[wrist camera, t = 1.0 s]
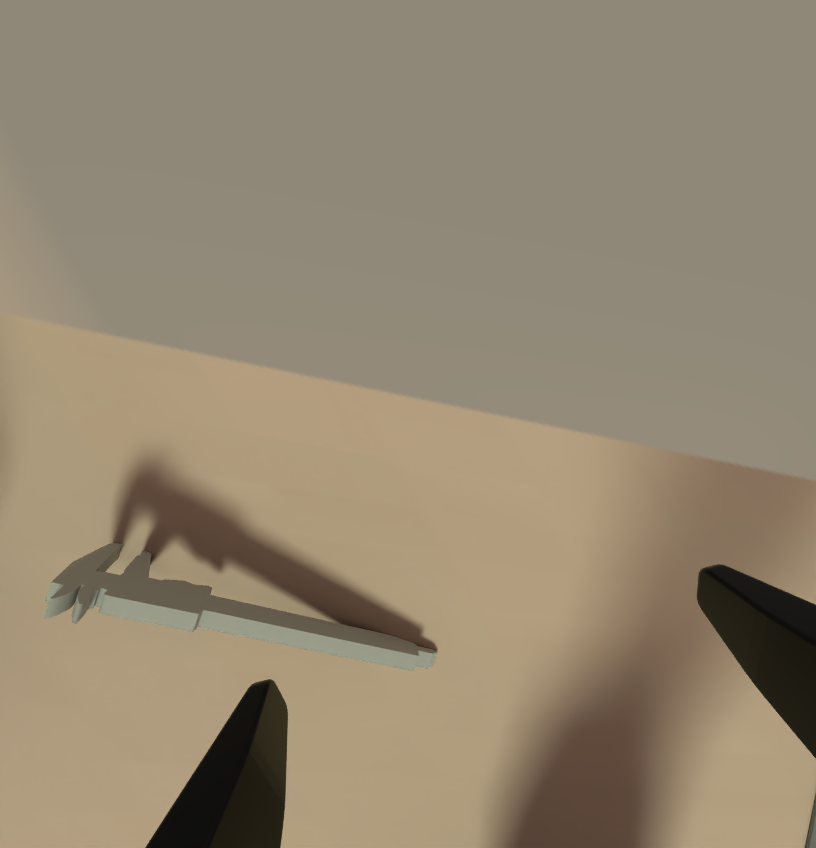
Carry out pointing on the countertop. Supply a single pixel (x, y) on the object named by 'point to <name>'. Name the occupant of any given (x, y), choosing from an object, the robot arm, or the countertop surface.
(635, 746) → the countertop surface
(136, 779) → the countertop surface
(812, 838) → the mat
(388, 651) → the caliper
